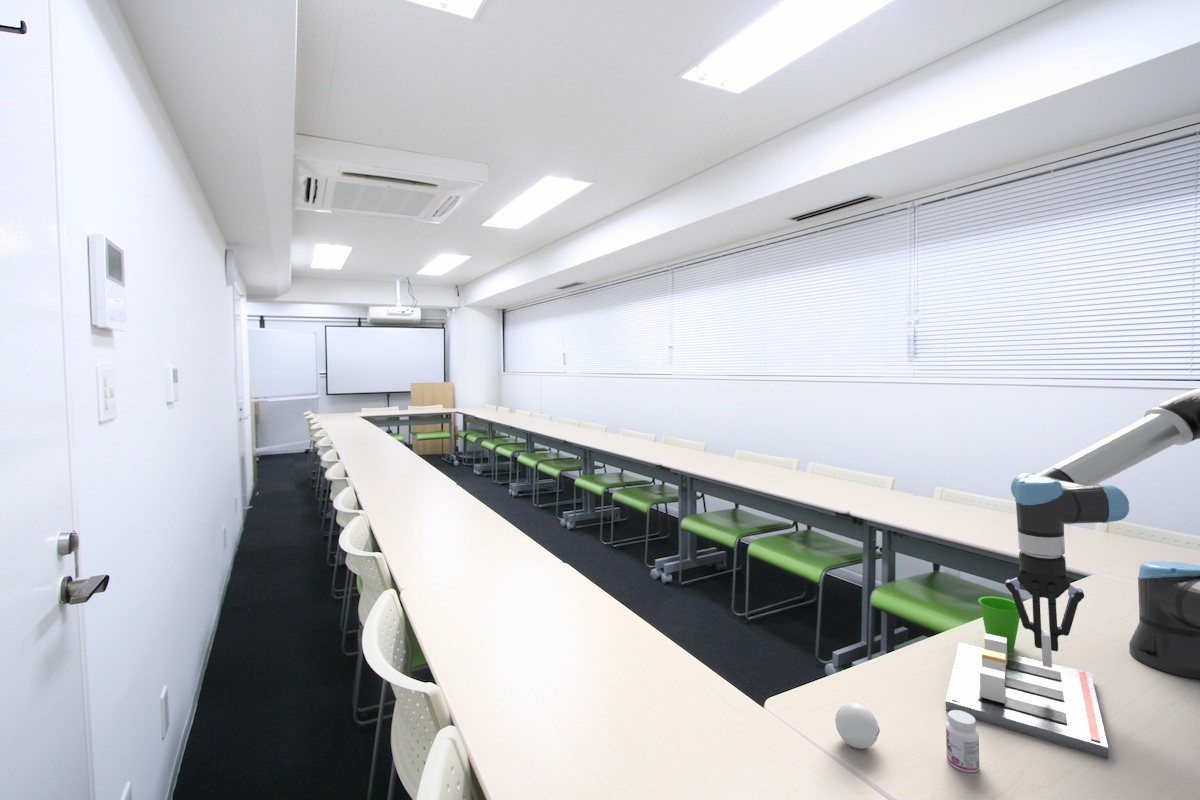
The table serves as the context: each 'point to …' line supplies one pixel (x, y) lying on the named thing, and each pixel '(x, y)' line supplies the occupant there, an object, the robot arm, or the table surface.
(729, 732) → the table surface
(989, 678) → the block
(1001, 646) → the block
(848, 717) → the white oval ovoid
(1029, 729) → the panel
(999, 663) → the block
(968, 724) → the pill bottle
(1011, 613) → the cup
